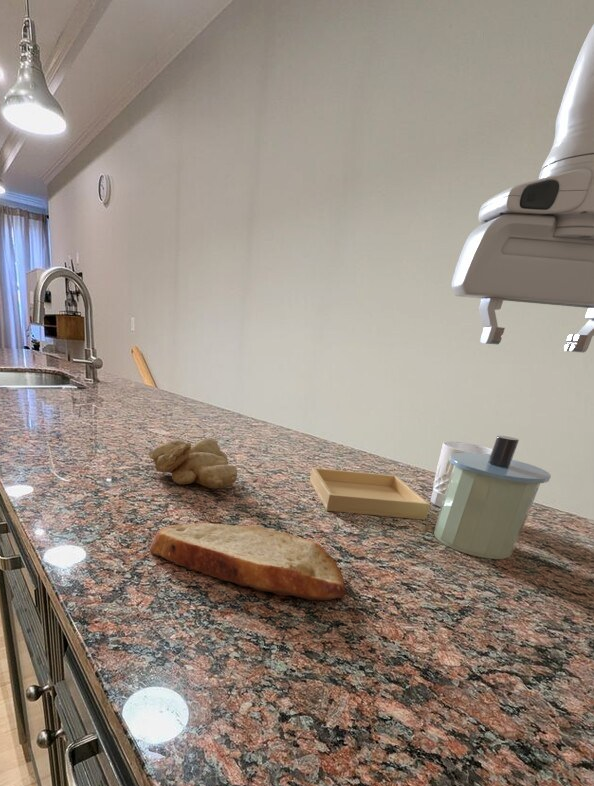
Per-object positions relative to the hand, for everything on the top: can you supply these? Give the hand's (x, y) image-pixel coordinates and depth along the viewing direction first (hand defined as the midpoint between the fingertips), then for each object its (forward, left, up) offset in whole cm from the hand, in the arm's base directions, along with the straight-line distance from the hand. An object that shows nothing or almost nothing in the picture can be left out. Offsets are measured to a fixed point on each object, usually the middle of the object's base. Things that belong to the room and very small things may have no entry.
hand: (531, 347), depth 51 cm
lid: (-2, -1, -15) cm, 15 cm away
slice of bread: (+30, +12, -25) cm, 41 cm away
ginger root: (+38, -17, -25) cm, 49 cm away
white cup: (-6, -16, -25) cm, 31 cm away
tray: (+9, -15, -25) cm, 31 cm away
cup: (-2, -1, -25) cm, 25 cm away
